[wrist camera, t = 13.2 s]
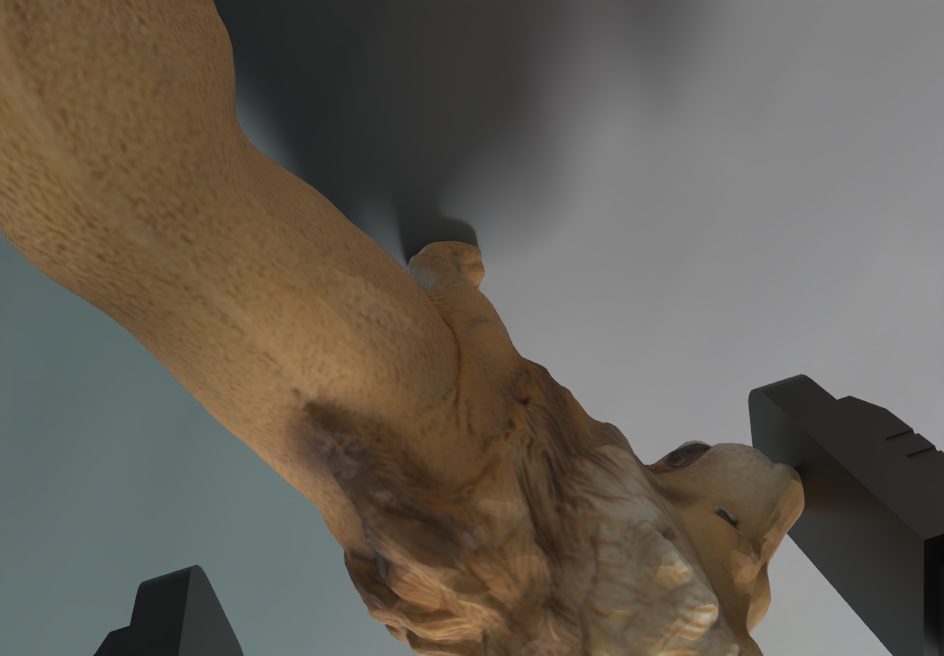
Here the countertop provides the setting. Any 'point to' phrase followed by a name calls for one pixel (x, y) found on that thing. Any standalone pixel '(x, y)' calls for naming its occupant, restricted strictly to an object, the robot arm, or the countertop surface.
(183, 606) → the robot arm
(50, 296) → the countertop surface
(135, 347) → the countertop surface
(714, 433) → the countertop surface
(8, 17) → the lion figurine
